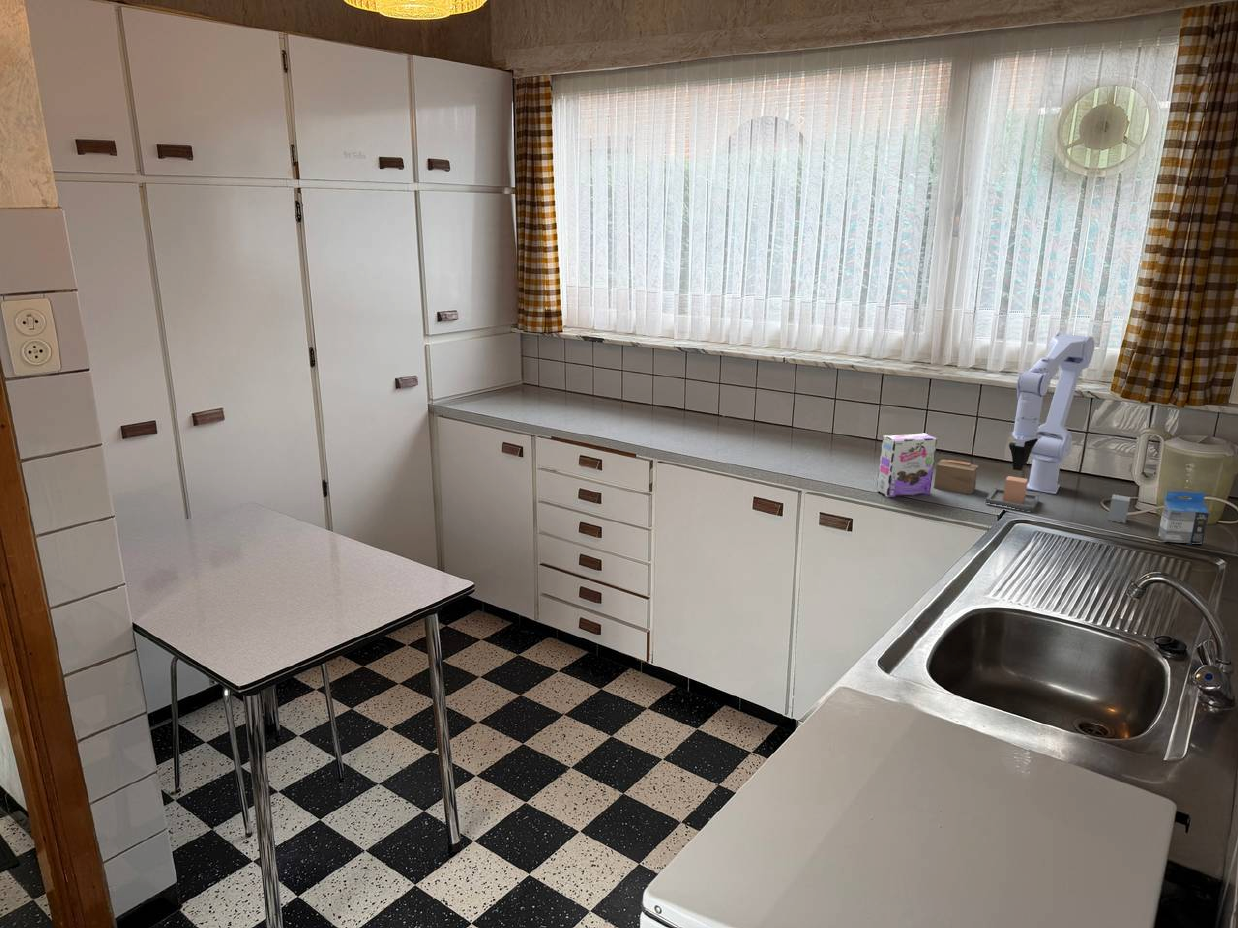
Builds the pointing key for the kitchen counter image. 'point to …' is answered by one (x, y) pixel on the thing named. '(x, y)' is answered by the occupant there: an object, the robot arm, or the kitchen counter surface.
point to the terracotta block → (1015, 489)
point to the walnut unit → (956, 476)
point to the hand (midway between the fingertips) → (1019, 466)
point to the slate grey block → (1118, 508)
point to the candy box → (906, 464)
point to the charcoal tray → (1027, 505)
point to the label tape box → (1184, 517)
